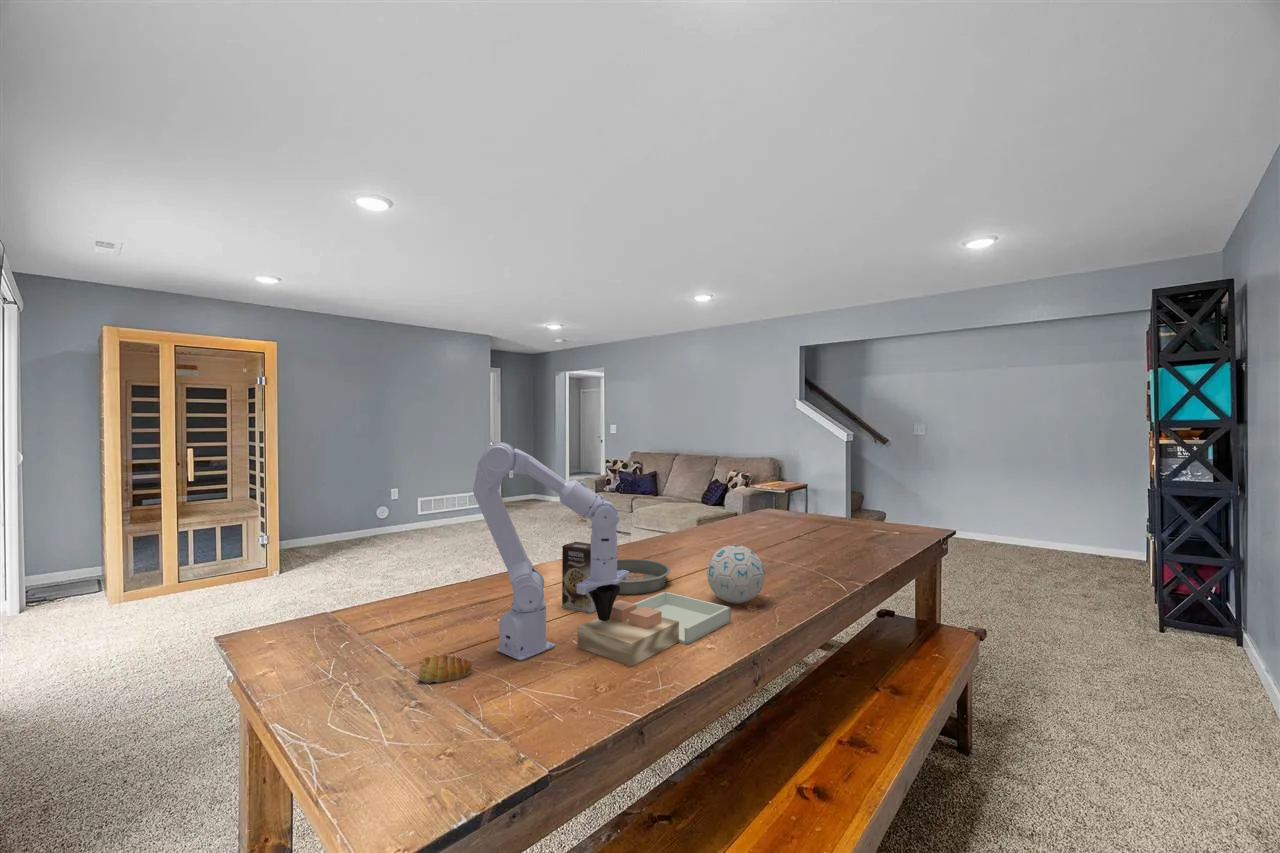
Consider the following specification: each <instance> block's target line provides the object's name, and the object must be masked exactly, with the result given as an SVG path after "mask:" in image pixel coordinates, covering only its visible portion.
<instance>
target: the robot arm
mask: <svg viewBox="0 0 1280 853" xmlns="http://www.w3.org/2000/svg"><path fill="white" fill-rule="evenodd" d="M476 466H477V468H476V472H475V478H474V483H473V489H472V491H473V496H474V498H475V500H476V502H477V504H478V507H479V509H480V512H481V514H482V516H483V518H484V521H485V523H486V525H487V527H488V529H489V532H490V533H491V536H492V538H493V541H494V544H495V545H496V547H497V550H498V552H499V554H500V556H501V559H502V561H503V564H504V565H505V568H506V570H507V575H508V579H509V582H510V585H511V588H512V602H511V607H510V609H509V610H508V611H507V612H505V613H503V614H502V615H501V616H500V619H499V622H498V629H499V630H498V634H499V635H498V646H499V647H498V648H496V651H497V652H499V653H500V654H501V653H502V654H503V655H506V656H508V657H510V658H512V659H516V660H518V661H523V660H527V659H529V658H531V657H533V656H536V655H538V654H541V653H543V652H545V651H547V650H550V649H553V648H554V647H555V646H556V644H555V643H552V642H550V641H548V640H547V602H546V601H545V599H544V598H545V592H544V586H545V579H544V577H543V575H542V573H541V572H539V571H538V570H536V568H535V567H534V565H533V562H532V561H531V560H530V559H529V557H528V555H527V553H526V550H525V548H524V546H523V543H522V542H521V539H520V536H519V535H518V532H517V530H516V528H515V525H514V523H513V521H512V519H511V516H510V514H509V512H508V509H507V508H506V505H505V503H504V500H503V499H502V497H501V494H500V492H499V489H500V487H501V486H502V485H501V484H502V483H503V480H504V477H505V476H506V475H507V474H508V473H509V472H510V470H511V469H513V471H512V475H528V476H529V477H531V478H532V479H534V480H536V481H537V482H539V483H541V484H542V485H544V486H545V487H547V488H548V489H551V490H552V491H554V492H555V493H557V494H558V497H559V502H560V504H562V505H563V506H565V507H567V508H568V509H570V510H571V511H573V512H574V513H575V514H577V515H578V516H581V517H582V518H583V519H589V520H590V521H591V534H590V544H591V576H590V577H589V578H587V579H586V580H584V581H582V582H581V583H578V584H577V593H578V594H582V595H584V594H586V592H589V594H590V596H591V597H592V599H593V602H594V604H595V607H596V614H597V618H598V619H599V620H602V621H608V620H609V619H610V615H611V611H612V607H613V604H614V602H616V599H617V596H618V595H619V594H618V593H619V591H620V586H617V585H615V584H618V583H620V581H622V580H629V571H626V570H620V571H617V559H618V535H617V531H618V529H617V525H618V524H619V521H620V516H619V512H618V510H617V508H616V507H615V505H614V503H612V502H611V501H610V500H609V499H606V498H605V496H604V495H603V494H601V493H600V494H597V493H596V492H594V491H593V490H591V489H590V488H588V487H587V483H586V482H585V481H583V480H580V482H579V481H578V480H577V479H573V480H566V479H565V478H563V477H561V476H560V475H559V474H557V473H555V471H553V470H551V469H550V468H549V467H547V466H546V465H544V464H543V463H542V462H540V461H539V460H537V459H536V458H535V457H533V456H532V455H530V454H528V453H527V452H525V451H523V450H521V449H519V448H514V447H513V446H512V445H511V444H510V443H507V442H504V441H500V442H495V443H493V444H492V445H490V446H489V445H488V447H487V448H486V449H485V450H484V452H483V453H482V454H481V456H480V458H479V460H478V461H477V464H476Z"/></svg>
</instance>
